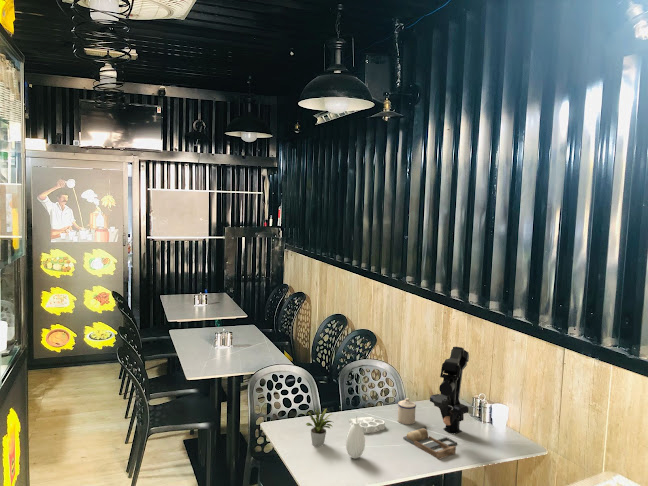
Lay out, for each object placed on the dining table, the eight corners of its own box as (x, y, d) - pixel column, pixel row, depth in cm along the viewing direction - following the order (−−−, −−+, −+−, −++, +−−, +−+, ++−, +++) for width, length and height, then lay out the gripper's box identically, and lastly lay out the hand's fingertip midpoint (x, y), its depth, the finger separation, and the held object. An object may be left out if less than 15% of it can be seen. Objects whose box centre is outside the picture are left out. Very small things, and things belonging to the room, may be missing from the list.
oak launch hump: (420, 437, 243) (420, 426, 242) (427, 441, 238) (428, 430, 238) (406, 441, 237) (406, 430, 237) (413, 445, 233) (414, 434, 233)
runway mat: (418, 434, 244) (418, 432, 244) (440, 446, 233) (441, 443, 232) (403, 439, 238) (403, 436, 238) (425, 451, 227) (425, 448, 227)
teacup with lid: (418, 423, 257) (420, 400, 256) (403, 426, 253) (404, 402, 253) (405, 414, 268) (406, 392, 267) (390, 416, 264) (391, 394, 264)
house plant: (305, 454, 219) (307, 416, 218) (295, 440, 232) (297, 405, 231) (336, 449, 225) (338, 413, 224) (324, 436, 238) (326, 402, 237)
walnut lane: (430, 440, 239) (430, 433, 238) (455, 453, 226) (455, 446, 226) (413, 445, 232) (413, 438, 232) (438, 459, 220) (438, 452, 220)
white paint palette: (375, 420, 260) (389, 432, 246) (342, 424, 253) (355, 437, 239) (375, 414, 259) (389, 425, 246) (343, 417, 253) (355, 430, 239)
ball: (447, 422, 238) (447, 414, 238) (453, 425, 235) (454, 417, 235) (441, 424, 236) (441, 415, 236) (447, 427, 233) (448, 418, 233)
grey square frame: (446, 438, 241) (446, 437, 241) (457, 444, 235) (457, 442, 235) (436, 441, 237) (436, 440, 237) (447, 447, 232) (447, 445, 232)
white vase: (352, 451, 224) (354, 411, 223) (367, 457, 219) (369, 416, 218) (341, 457, 218) (343, 416, 217) (356, 464, 213) (358, 421, 212)
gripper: (422, 385, 238) (420, 418, 239) (453, 398, 222) (451, 433, 223) (439, 381, 244) (437, 413, 245) (470, 394, 229) (468, 428, 230)
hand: (447, 422), depth 236 cm, fingers closed on ball, 4 cm apart
